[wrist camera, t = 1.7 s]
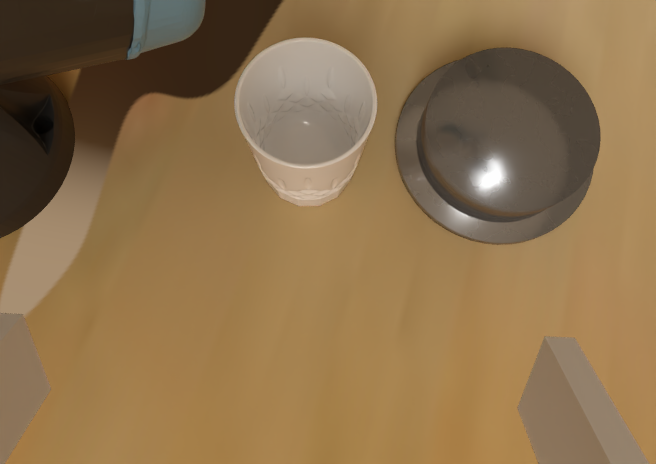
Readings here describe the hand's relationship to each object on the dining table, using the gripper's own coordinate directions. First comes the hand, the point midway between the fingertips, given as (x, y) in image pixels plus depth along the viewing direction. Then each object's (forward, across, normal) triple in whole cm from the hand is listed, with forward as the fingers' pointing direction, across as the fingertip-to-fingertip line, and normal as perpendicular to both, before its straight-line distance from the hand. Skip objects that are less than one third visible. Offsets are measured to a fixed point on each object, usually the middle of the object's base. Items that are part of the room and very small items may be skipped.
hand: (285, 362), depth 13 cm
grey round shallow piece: (+26, +14, -4) cm, 30 cm away
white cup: (+25, 0, -5) cm, 25 cm away
